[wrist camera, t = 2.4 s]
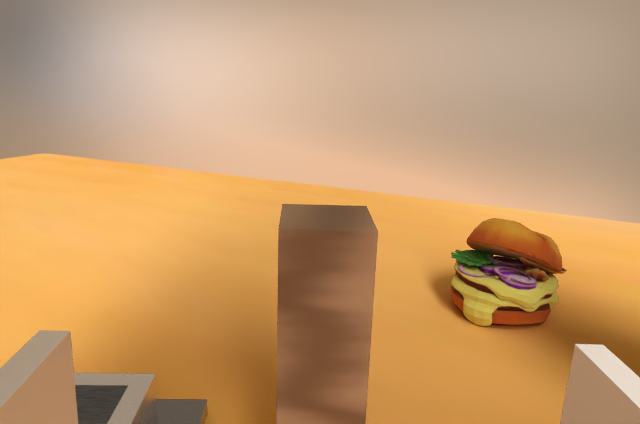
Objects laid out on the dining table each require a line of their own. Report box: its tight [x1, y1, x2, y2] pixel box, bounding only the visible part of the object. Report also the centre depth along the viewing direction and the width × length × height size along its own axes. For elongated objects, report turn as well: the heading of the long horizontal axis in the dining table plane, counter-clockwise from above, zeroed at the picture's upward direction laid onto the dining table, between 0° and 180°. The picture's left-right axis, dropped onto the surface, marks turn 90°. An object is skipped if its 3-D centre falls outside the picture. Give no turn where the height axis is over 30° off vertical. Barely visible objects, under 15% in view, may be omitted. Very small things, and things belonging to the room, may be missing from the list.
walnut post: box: [276, 204, 378, 424], centre depth 25 cm, size 4×4×16 cm
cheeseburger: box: [451, 218, 567, 326], centre depth 51 cm, size 10×11×10 cm
